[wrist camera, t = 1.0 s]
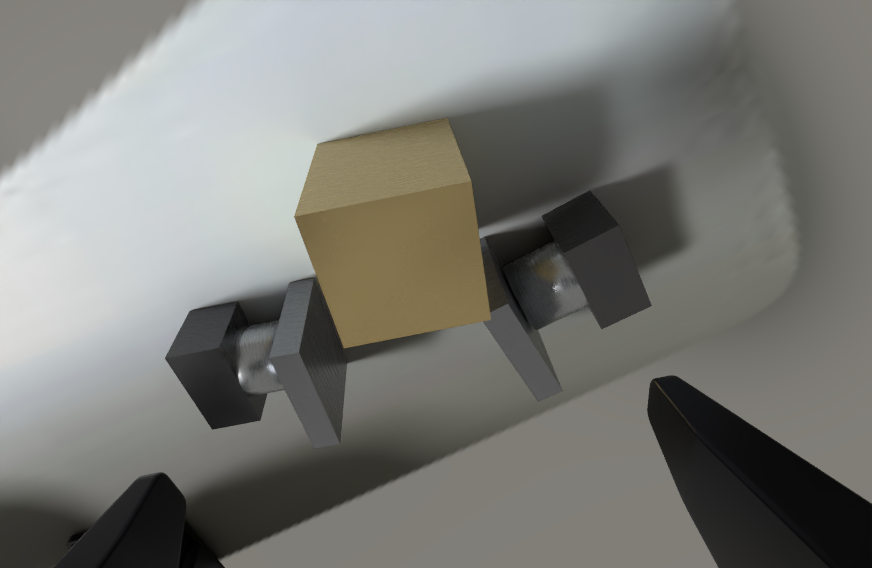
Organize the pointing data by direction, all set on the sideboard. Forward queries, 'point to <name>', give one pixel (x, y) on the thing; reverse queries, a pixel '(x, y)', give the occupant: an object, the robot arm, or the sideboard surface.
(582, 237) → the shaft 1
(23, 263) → the sideboard surface
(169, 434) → the sideboard surface
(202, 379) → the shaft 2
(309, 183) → the block
